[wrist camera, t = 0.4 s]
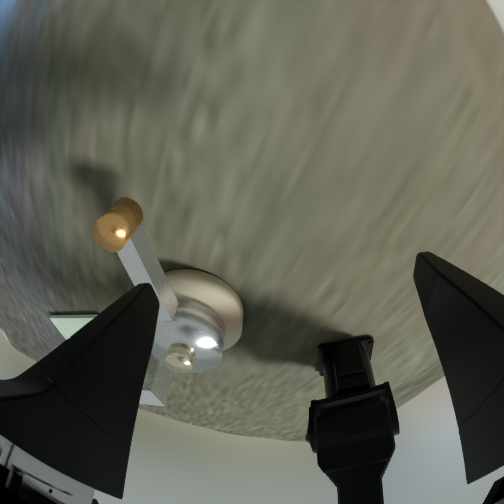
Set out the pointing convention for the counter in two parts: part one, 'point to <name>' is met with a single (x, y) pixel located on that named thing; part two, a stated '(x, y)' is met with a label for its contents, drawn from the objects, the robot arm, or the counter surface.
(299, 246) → the counter surface
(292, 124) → the counter surface
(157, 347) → the crank handle
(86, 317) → the mat
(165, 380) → the grey rectangular block
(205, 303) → the base
